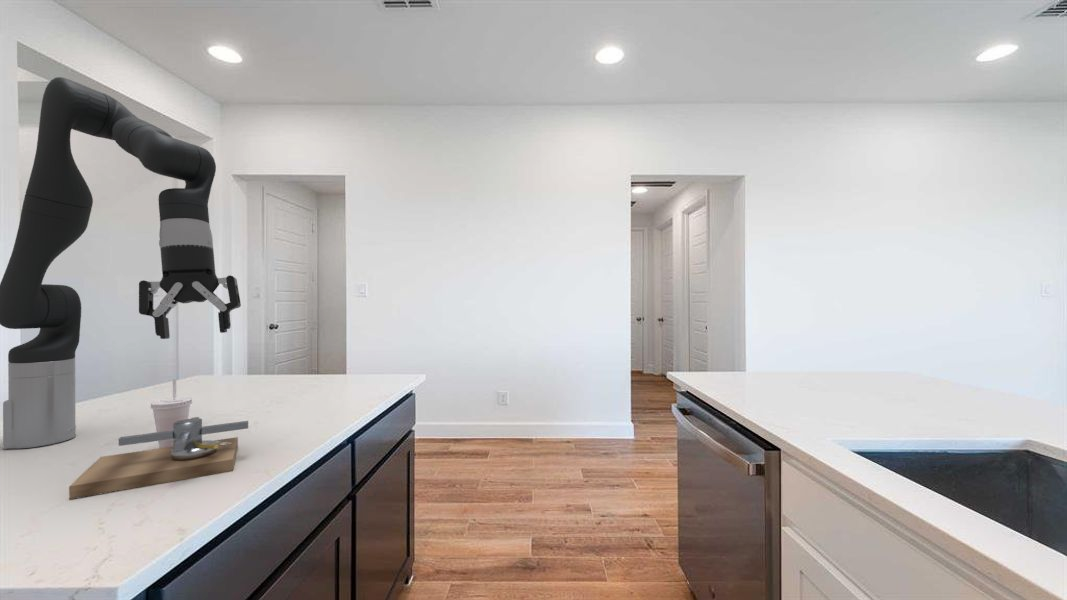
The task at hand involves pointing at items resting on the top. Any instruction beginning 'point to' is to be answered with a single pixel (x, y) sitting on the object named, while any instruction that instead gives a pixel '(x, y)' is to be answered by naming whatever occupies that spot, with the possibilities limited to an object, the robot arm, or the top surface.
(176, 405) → the smoothie
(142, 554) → the top surface
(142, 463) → the board
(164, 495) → the top surface
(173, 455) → the capstan
